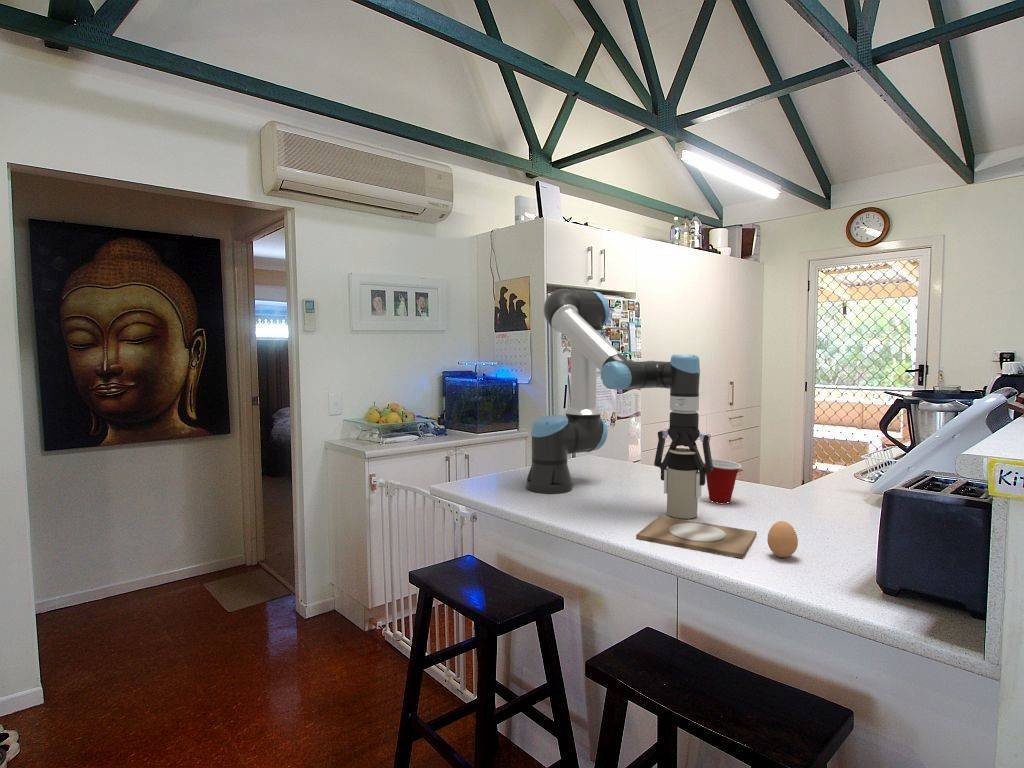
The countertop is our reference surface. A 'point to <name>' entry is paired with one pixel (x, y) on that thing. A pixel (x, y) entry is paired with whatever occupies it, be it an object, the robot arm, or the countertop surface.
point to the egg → (782, 539)
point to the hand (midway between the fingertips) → (682, 494)
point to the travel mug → (682, 484)
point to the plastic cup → (721, 480)
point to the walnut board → (698, 536)
